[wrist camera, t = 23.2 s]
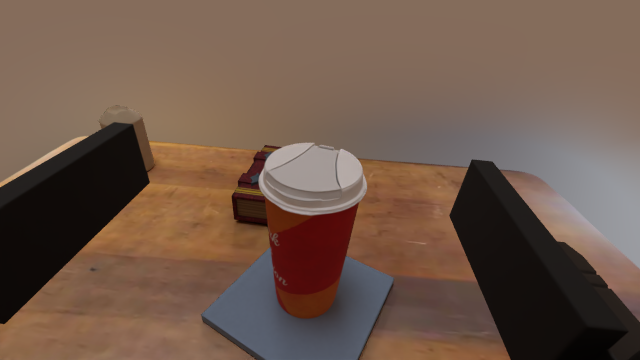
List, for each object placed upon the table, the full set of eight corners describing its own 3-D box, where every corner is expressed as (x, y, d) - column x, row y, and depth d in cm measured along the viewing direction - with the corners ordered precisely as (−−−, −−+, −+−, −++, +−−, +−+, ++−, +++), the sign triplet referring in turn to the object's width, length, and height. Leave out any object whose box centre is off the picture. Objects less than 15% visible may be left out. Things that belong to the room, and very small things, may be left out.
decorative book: (232, 222, 40) (228, 191, 37) (266, 163, 53) (265, 137, 51) (316, 234, 39) (319, 204, 36) (329, 171, 52) (332, 145, 50)
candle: (161, 165, 50) (147, 107, 45) (129, 179, 46) (108, 118, 41) (142, 155, 53) (125, 99, 47) (109, 168, 49) (87, 108, 43)
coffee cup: (285, 252, 35) (285, 132, 27) (354, 273, 33) (377, 151, 25) (248, 314, 28) (234, 180, 20) (333, 345, 26) (355, 211, 18)
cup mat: (202, 320, 28) (200, 314, 28) (288, 234, 39) (288, 228, 38) (333, 413, 23) (335, 408, 22) (392, 284, 33) (394, 278, 33)
